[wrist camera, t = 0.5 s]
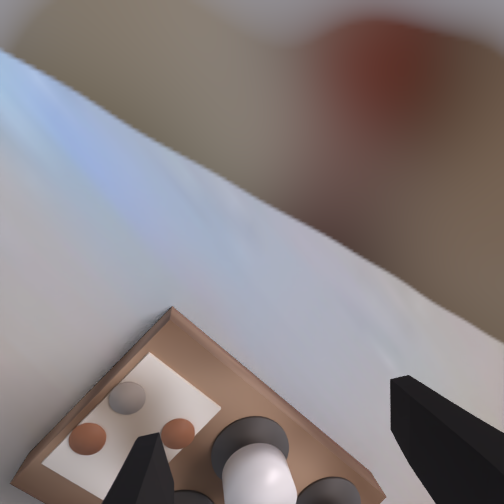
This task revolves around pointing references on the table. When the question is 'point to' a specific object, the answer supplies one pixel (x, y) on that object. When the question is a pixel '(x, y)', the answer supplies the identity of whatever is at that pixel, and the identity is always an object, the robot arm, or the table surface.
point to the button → (258, 477)
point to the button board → (186, 427)
